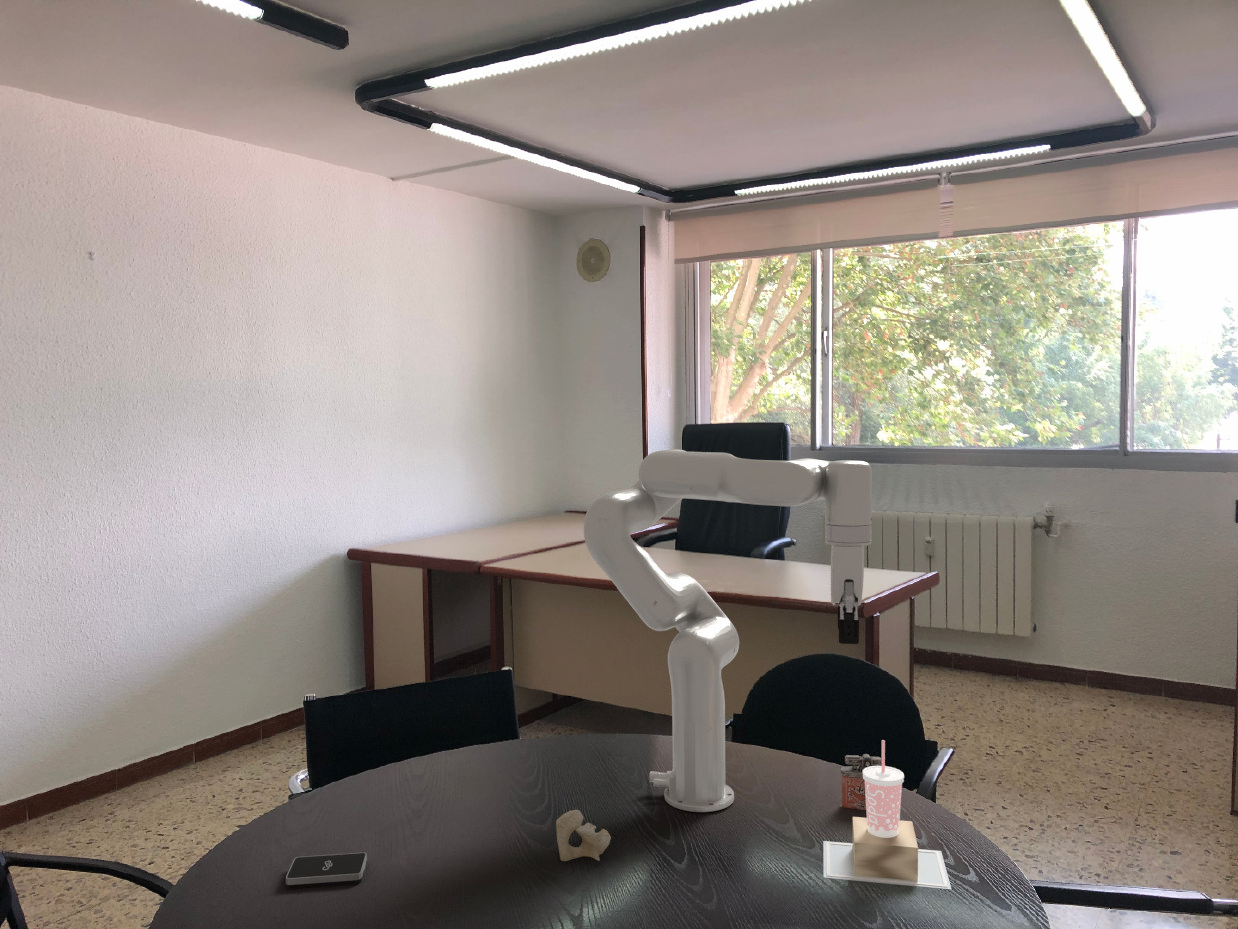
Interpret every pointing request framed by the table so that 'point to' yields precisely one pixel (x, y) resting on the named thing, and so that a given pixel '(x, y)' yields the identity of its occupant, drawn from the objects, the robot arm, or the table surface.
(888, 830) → the beverage cup
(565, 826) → the bone
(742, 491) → the robot arm
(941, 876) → the white tray
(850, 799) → the lighter
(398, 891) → the table surface
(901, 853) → the maple block
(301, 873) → the external hard drive
